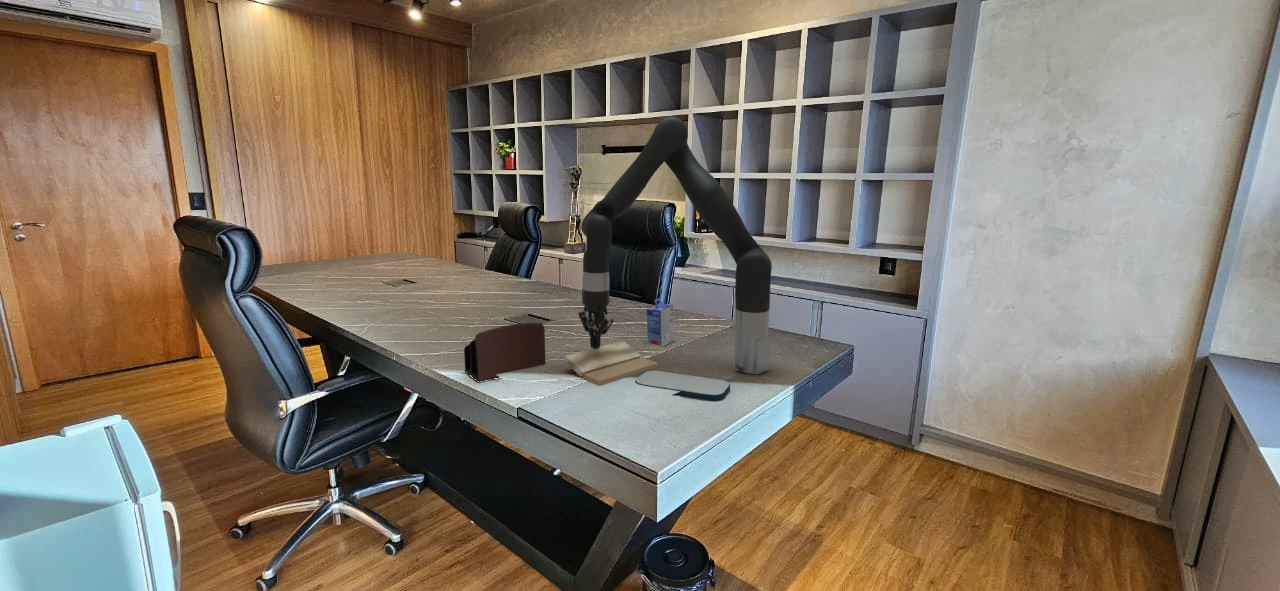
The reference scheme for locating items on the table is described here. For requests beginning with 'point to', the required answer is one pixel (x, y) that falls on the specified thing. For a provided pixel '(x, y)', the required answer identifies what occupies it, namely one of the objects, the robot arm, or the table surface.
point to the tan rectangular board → (620, 371)
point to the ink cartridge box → (660, 323)
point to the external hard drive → (686, 385)
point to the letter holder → (505, 350)
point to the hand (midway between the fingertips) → (595, 347)
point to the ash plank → (601, 357)
